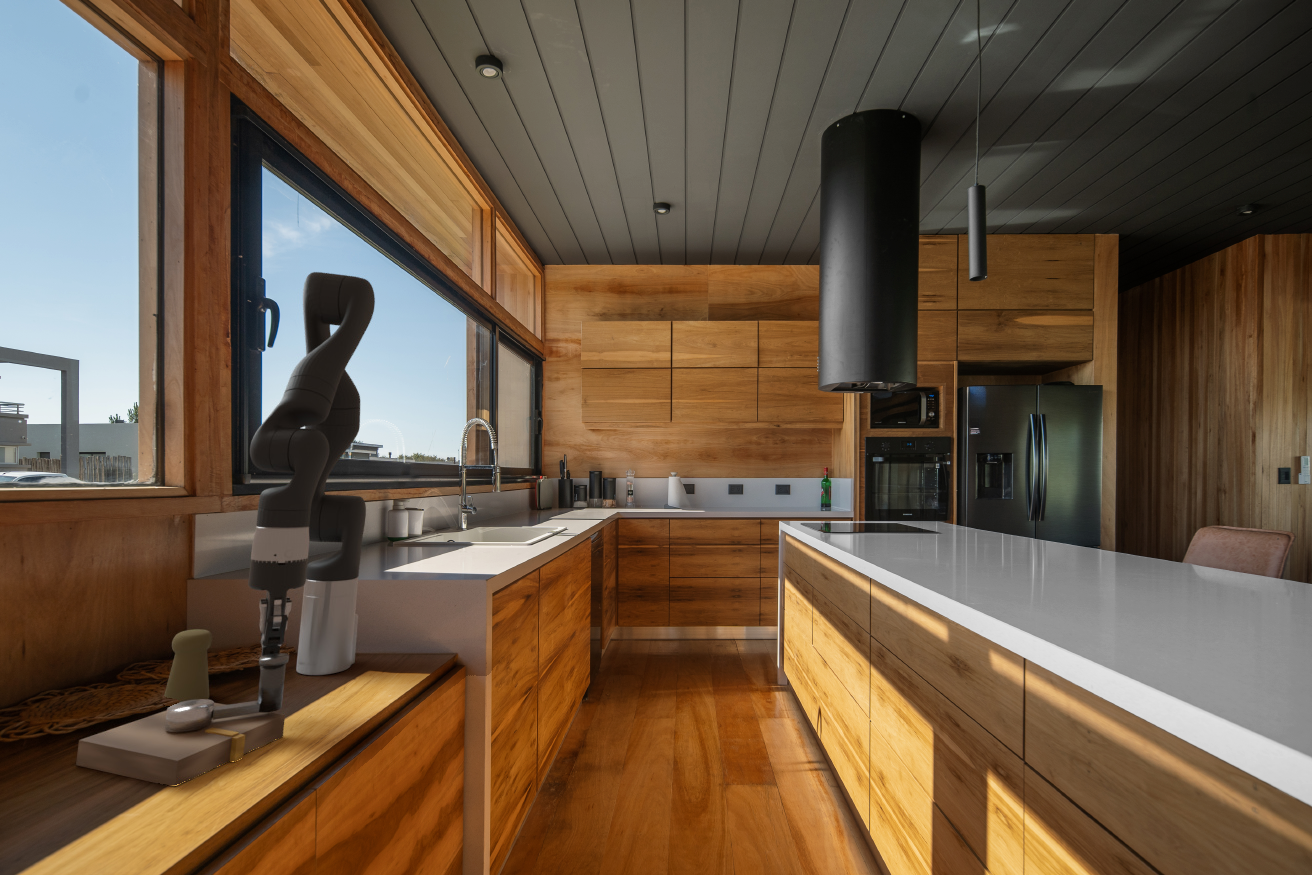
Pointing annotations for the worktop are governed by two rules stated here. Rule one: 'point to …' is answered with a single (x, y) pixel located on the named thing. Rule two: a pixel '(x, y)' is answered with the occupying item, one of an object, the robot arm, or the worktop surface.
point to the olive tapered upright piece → (189, 666)
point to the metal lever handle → (203, 710)
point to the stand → (176, 746)
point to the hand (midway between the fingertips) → (268, 670)
